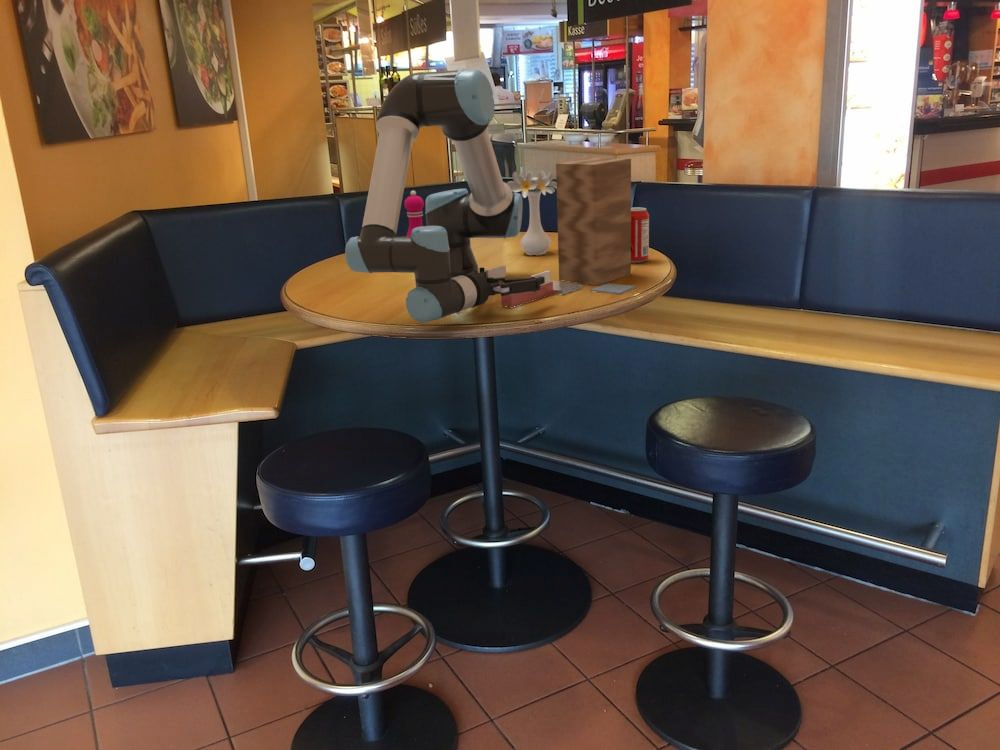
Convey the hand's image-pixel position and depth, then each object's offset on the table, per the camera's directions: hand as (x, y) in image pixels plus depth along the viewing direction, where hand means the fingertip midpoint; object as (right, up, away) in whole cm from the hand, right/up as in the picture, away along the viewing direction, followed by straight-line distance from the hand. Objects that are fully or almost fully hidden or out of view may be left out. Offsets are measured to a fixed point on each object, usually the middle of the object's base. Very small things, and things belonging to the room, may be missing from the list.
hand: (526, 273), depth 198 cm
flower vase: (+5, +13, +58) cm, 59 cm away
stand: (+19, +2, +22) cm, 29 cm away
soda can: (+32, +8, +39) cm, 51 cm away
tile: (+22, -4, +8) cm, 24 cm away
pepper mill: (-32, +14, +66) cm, 75 cm away
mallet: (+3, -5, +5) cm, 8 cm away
